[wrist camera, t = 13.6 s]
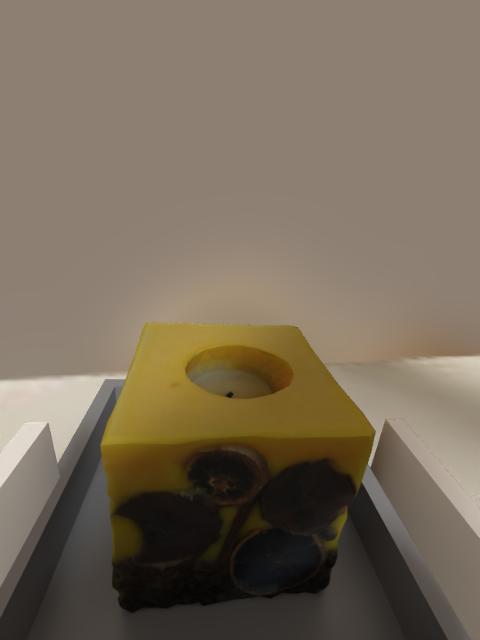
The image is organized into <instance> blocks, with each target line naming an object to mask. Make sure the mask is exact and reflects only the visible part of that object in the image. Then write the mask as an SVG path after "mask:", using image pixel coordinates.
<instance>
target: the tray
mask: <svg viewBox="0 0 480 640" xmlns="http://www.w3.org/2000/svg"><path fill="white" fill-rule="evenodd" d="M124 382H125V380H117V379H105V381H104V383H103V385H102V386H101V388H100V390H99V392H98V393H97V395H96V397H95V399H94V400H93V402H92V404H91V406H90V408H89V409H88V411H87V413H86V415H85V416H84V418H83V420H82V422H81V424H80V425H79V427H78V429H77V431H76V432H75V434H74V436H73V438H72V439H71V441H70V443H69V445H68V447H67V448H66V450H65V452H64V454H63V455H62V457H61V459H60V461H59V463H58V464H57V465H58V469H59V474H60V478H59V480H58V482H57V484H56V485H55V487H54V489H53V491H52V493H51V495H50V497H49V498H48V500H47V502H46V504H45V506H44V508H43V509H42V511H41V513H40V515H39V517H38V519H37V521H36V522H35V524H34V526H33V528H32V530H31V532H30V533H29V535H28V537H27V539H26V541H25V543H24V545H23V546H22V548H21V550H20V552H19V554H18V556H17V557H16V559H15V561H14V563H13V565H12V567H11V569H10V570H9V572H8V574H7V576H6V578H5V580H4V581H3V583H2V585H1V587H0V640H471V639H470V637H469V635H468V633H467V632H466V630H465V628H464V627H463V625H462V623H461V622H460V620H459V618H458V616H457V615H456V613H455V611H454V610H453V608H452V606H451V605H450V603H449V601H448V600H447V598H446V596H445V594H444V593H443V591H442V589H441V588H440V586H439V584H438V583H437V581H436V579H435V577H434V576H433V574H432V572H431V571H430V569H429V567H428V566H427V564H426V562H425V560H424V559H423V557H422V555H421V554H420V552H419V550H418V549H417V547H416V545H415V543H414V542H413V540H412V538H411V537H410V535H409V533H408V532H407V530H406V528H405V526H404V525H403V523H402V521H401V520H400V518H399V516H398V515H397V513H396V511H395V509H394V508H393V506H392V504H391V503H390V501H389V499H388V498H387V496H386V494H385V492H384V491H383V489H382V487H381V486H380V484H379V482H378V481H377V479H376V477H375V475H374V474H373V472H372V470H371V468H370V466H369V465H368V464H367V467H366V470H365V473H364V476H363V479H362V482H361V485H360V487H359V490H358V492H357V495H356V496H355V498H354V500H353V502H352V504H351V505H350V506H348V508H347V519H346V521H345V524H344V526H343V528H342V530H341V533H340V536H339V539H338V542H337V543H338V556H337V560H336V563H335V565H334V566H333V568H332V571H331V574H330V583H329V585H328V586H327V587H326V588H325V589H324V590H322V591H321V592H319V593H318V594H313V593H307V592H303V593H298V594H289V593H281V594H279V595H277V596H275V597H273V598H266V597H262V596H259V597H252V598H245V599H236V600H230V601H225V602H219V603H214V604H208V605H205V606H202V605H201V604H200V603H199V602H197V603H193V604H183V605H182V604H177V605H174V606H171V607H169V608H166V609H165V608H158V607H152V608H140V609H138V610H137V611H135V612H134V613H131V612H129V611H127V610H125V609H123V608H121V607H120V606H119V602H118V597H119V593H118V591H117V590H115V589H114V588H113V586H112V571H113V566H112V551H113V542H112V528H111V521H110V497H109V496H108V495H107V477H106V474H105V471H104V469H103V462H102V454H101V446H100V445H101V442H102V439H103V435H104V432H105V429H106V425H107V422H108V420H109V418H110V416H111V414H112V412H113V409H114V407H115V405H116V403H117V400H118V398H119V395H120V393H121V390H122V387H123V385H124Z"/></svg>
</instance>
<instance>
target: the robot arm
mask: <svg viewBox="0 0 480 640" xmlns="http://www.w3.org/2000/svg"><path fill="white" fill-rule="evenodd" d="M371 470H372V472H373V474H374V475H375V477H376V479H377V481H378V482H379V484H380V486H381V487H382V489H383V491H384V492H385V494H386V496H387V498H388V499H389V501H390V503H391V504H392V506H393V508H394V509H395V511H396V513H397V515H398V516H399V518H400V520H401V521H402V523H403V525H404V526H405V528H406V530H407V532H408V533H409V535H410V537H411V538H412V540H413V542H414V543H415V545H416V547H417V549H418V550H419V552H420V554H421V555H422V557H423V559H424V560H425V562H426V564H427V566H428V567H429V569H430V571H431V572H432V574H433V576H434V577H435V579H436V581H437V583H438V584H439V586H440V588H441V589H442V591H443V593H444V594H445V596H446V598H447V600H448V601H449V603H450V605H451V606H452V608H453V610H454V611H455V613H456V615H457V616H458V618H459V620H460V622H461V623H462V625H463V627H464V628H465V630H466V632H467V633H468V635H469V637H470V639H471V640H480V507H479V506H478V505H477V504H476V503H475V501H474V500H473V499H472V498H471V497H470V496H469V494H468V493H467V492H466V491H465V490H464V489H463V488H462V486H461V485H460V484H459V483H458V482H457V481H456V479H455V478H454V477H453V476H452V475H451V474H450V473H449V471H448V470H447V469H446V468H445V467H444V466H443V464H442V463H441V462H440V461H439V460H438V459H437V458H436V456H435V455H434V454H433V453H432V452H431V451H430V450H429V448H428V447H427V446H426V445H425V444H424V443H423V441H422V440H421V439H420V438H419V437H418V436H417V435H416V433H415V432H414V431H413V430H412V429H411V428H410V426H409V425H408V424H407V423H406V422H405V421H404V420H403V419H386V420H385V423H384V427H383V430H382V433H381V436H380V440H379V443H378V446H377V449H376V452H375V456H374V459H373V462H372V465H371ZM59 478H60V474H59V469H58V465H57V460H56V456H55V451H54V446H53V442H52V437H51V432H50V428H49V423H48V422H25V424H24V425H23V426H22V427H21V429H20V430H19V431H18V432H17V433H16V435H15V436H14V437H13V438H12V439H11V441H10V442H9V443H8V444H7V445H6V447H5V448H4V449H3V450H2V452H1V453H0V587H1V585H2V583H3V581H4V580H5V578H6V576H7V574H8V572H9V570H10V569H11V567H12V565H13V563H14V561H15V559H16V557H17V556H18V554H19V552H20V550H21V548H22V546H23V545H24V543H25V541H26V539H27V537H28V535H29V533H30V532H31V530H32V528H33V526H34V524H35V522H36V521H37V519H38V517H39V515H40V513H41V511H42V509H43V508H44V506H45V504H46V502H47V500H48V498H49V497H50V495H51V493H52V491H53V489H54V487H55V485H56V484H57V482H58V480H59Z"/></svg>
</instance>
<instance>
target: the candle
mask: <svg viewBox="0 0 480 640" xmlns="http://www.w3.org/2000/svg"><path fill="white" fill-rule="evenodd" d="M375 432H376V431H375V430H374V428H373V427H372V425H371V424H370V422H369V421H368V420H367V418H366V417H365V415H364V414H363V412H362V411H361V410H360V409H359V408H358V407H357V405H356V404H355V403H354V402H353V401H352V400H351V399H350V397H349V396H348V395H347V394H346V393H345V392H344V390H343V389H342V388H341V387H340V386H339V385H338V383H337V382H336V381H335V379H334V378H333V377H332V375H331V374H330V372H329V371H328V370H327V368H326V367H325V366H324V364H323V363H322V362H321V361H320V359H319V358H318V357H317V355H316V354H315V353H314V351H313V350H312V348H311V347H310V346H309V344H308V342H307V340H306V339H305V337H304V336H303V334H302V333H301V331H300V330H299V329H298V327H293V326H255V325H254V326H253V325H210V324H190V323H155V322H153V323H145V325H144V328H143V330H142V334H141V337H140V340H139V343H138V345H137V349H136V353H135V356H134V358H133V361H132V364H131V367H130V370H129V372H128V375H127V377H126V380H125V382H124V385H123V387H122V390H121V393H120V395H119V398H118V400H117V403H116V405H115V407H114V409H113V412H112V414H111V416H110V418H109V420H108V422H107V425H106V429H105V432H104V435H103V439H102V442H101V445H100V446H101V454H102V462H103V469H104V471H105V474H106V477H107V495H108V496H109V497H110V521H111V528H112V542H113V551H112V566H113V571H112V586H113V588H114V589H115V590H117V591H118V593H119V597H118V602H119V606H120V607H121V608H123V609H125V610H127V611H129V612H131V613H134V612H135V611H137V610H138V609H140V608H152V607H158V608H165V609H166V608H169V607H171V606H174V605H177V604H182V605H183V604H193V603H197V602H199V603H200V604H201V605H202V606H205V605H208V604H214V603H219V602H225V601H230V600H236V599H245V598H252V597H259V596H262V597H266V598H273V597H275V596H277V595H279V594H281V593H289V594H298V593H303V592H307V593H313V594H318V593H319V592H321V591H322V590H324V589H325V588H326V587H327V586H328V585H329V583H330V574H331V571H332V568H333V566H334V565H335V563H336V560H337V556H338V543H337V542H338V539H339V536H340V533H341V530H342V528H343V526H344V524H345V521H346V519H347V508H348V506H350V505H351V504H352V502H353V500H354V498H355V496H356V495H357V492H358V490H359V487H360V485H361V482H362V479H363V476H364V473H365V470H366V467H367V464H368V461H369V457H370V454H371V451H372V446H373V441H374V437H375Z"/></svg>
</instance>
